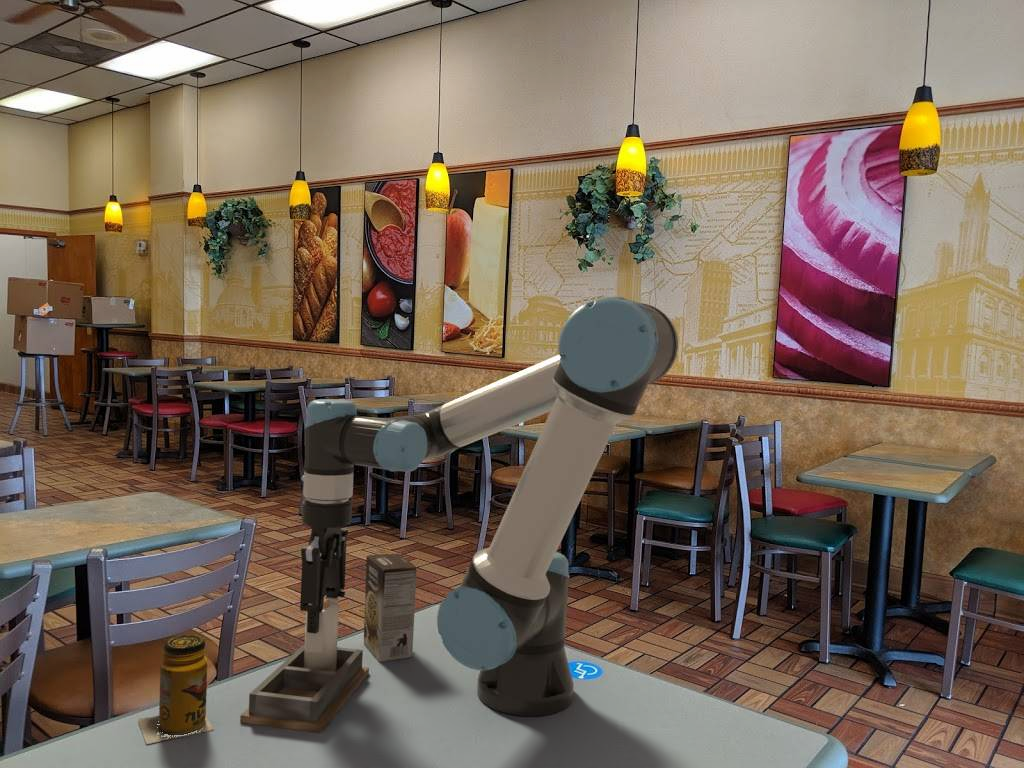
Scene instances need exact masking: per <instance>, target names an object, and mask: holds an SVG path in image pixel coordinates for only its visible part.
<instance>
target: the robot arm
mask: <svg viewBox="0 0 1024 768" xmlns="http://www.w3.org/2000/svg"><path fill="white" fill-rule="evenodd" d="M557 345H558V347H557V351H558V354H557V355H554V356H552V357H550V358H547V359H545V360H543V361H540V362H538V363H536V364H533V365H530V366H529V367H527V368H525V369H522V370H519V371H518V372H515V373H513V374H510V375H508V376H506V377H503V378H501V379H499V380H497V381H495V382H492V383H489V384H488V385H485V386H483V387H480V388H478V389H476V390H474V391H471V392H469V393H467V394H465V395H462V396H460V397H458V398H455V399H453V400H451V401H448V402H447V403H444V404H442V405H440V406H437V407H435V408H432V409H430V410H428V411H425V412H422V413H419V414H418V413H417V414H413V415H404V416H396V417H395V416H394V417H372V416H371V417H370V416H362V415H359V414H358V413H357V412H358V411H357V405H356V403H355V402H354V401H351V400H348V399H347V400H346V399H337V398H335V399H333V398H326V399H325V398H321V399H314V400H312V401H310V402H309V403H308V405H307V409H306V417H305V418H306V419H305V425H304V465H303V466H304V468H303V473H304V474H303V475H302V476H301V481H302V482H303V491H302V492H303V497H304V500H303V501H302V509H301V511H302V512H301V522H302V524H304V525H305V526H308V527H309V528H310V529H311V532H310V537H309V542H308V546H302V548H301V550H300V556H301V577H300V579H301V582H300V584H301V585H300V604H299V609H300V611H301V612H306V611H307V615H306V614H305V628H306V639H305V638H304V644H305V651H307V652H315V653H322V652H323V651H324V630H325V610H323V603H324V599H327V600H329V601H332V602H335V603H337V604H339V602H340V601H339V599H340V598H344V597H345V594H346V591H344V589H345V587H346V585H345V584H346V583H345V582H346V565H347V564H346V563H347V559H346V558H347V544H348V543H347V541H348V537H349V536H348V535H349V529H346V528H342V527H346V526H348V525H349V524H350V523H351V522H352V512H353V511H352V510H353V508H352V507H353V502H352V500H351V499H350V498H352V497H353V496H354V494H353V492H354V465H355V466H361V467H367V468H374V469H380V470H386V471H389V472H394V473H395V472H408V473H409V472H413V471H416V470H417V469H418V468H419V466H420V465H421V464H422V463H423V462H424V461H426V460H432V459H435V460H436V459H440V458H443V457H447V456H448V455H450V454H452V453H453V452H454V451H456V450H458V449H460V448H462V447H465V446H467V445H469V444H472V443H474V442H477V441H479V440H482V439H485V438H487V437H490V436H492V435H495V434H497V433H499V432H502V431H505V430H506V429H507V430H508V429H509V428H513V427H514V426H517V425H520V424H522V423H524V422H527V421H530V420H533V419H534V418H537V417H540V416H542V415H545V414H547V413H549V414H548V417H547V419H546V421H545V423H544V425H543V428H542V430H541V432H540V434H539V436H538V438H537V441H536V443H535V445H534V448H533V450H532V452H531V454H530V456H529V458H528V460H527V463H526V465H525V467H524V469H523V472H522V474H521V476H520V479H519V481H518V483H517V485H516V488H515V489H514V492H513V494H512V495H511V498H510V501H509V504H508V505H507V507H506V509H505V512H504V514H503V517H502V519H501V521H500V523H499V525H498V527H497V529H496V532H495V534H494V537H493V538H492V541H491V543H490V545H489V547H485V548H482V549H480V550H477V551H476V552H475V554H474V555H473V556H472V559H471V561H470V563H469V566H468V568H467V570H466V572H465V575H464V577H463V579H462V581H461V583H460V584H459V586H458V587H456V588H453V589H451V590H450V592H448V593H447V595H446V596H445V597H444V598H443V599H442V601H441V603H440V605H439V607H438V609H437V610H438V611H437V615H436V624H437V625H436V627H437V631H438V634H439V635H440V638H441V640H442V644H443V646H444V649H446V651H447V652H448V653H449V655H450V656H452V658H453V659H454V660H456V661H457V662H458V663H459V664H460V665H463V666H464V667H466V668H469V669H471V670H475V671H479V673H478V676H477V677H478V678H477V689H476V690H477V691H476V693H477V694H476V695H477V696H478V699H479V700H480V701H481V702H482V703H483V704H485V705H486V706H488V707H490V708H491V709H493V710H495V711H499V712H502V713H505V714H509V715H515V716H522V717H523V716H524V717H525V716H526V717H539V716H546V715H551V714H556V713H558V712H561V711H562V710H566V708H568V707H569V706H570V705H571V704H572V702H573V699H574V681H573V676H572V673H571V667H570V665H569V661H568V658H567V654H566V651H565V650H566V649H565V645H566V644H565V640H566V628H567V627H566V625H567V609H568V607H567V606H568V591H569V580H570V577H571V576H570V574H569V560H568V559H567V557H566V556H565V555H564V554H562V553H560V552H558V549H559V546H560V545H561V542H562V540H563V538H564V536H565V534H566V532H567V530H568V528H569V525H570V523H571V521H572V519H573V517H574V515H575V513H576V510H577V508H578V506H579V504H580V502H581V500H582V497H583V496H584V493H585V491H586V489H587V487H588V486H589V483H590V480H591V478H592V476H593V474H594V472H595V470H596V468H597V465H598V464H599V461H600V459H602V458H601V457H602V455H603V453H604V451H605V448H606V447H607V445H608V443H609V440H610V439H611V436H612V434H613V431H614V429H615V427H616V426H617V424H618V423H619V422H623V421H625V420H628V419H630V418H632V417H634V415H635V413H636V412H637V409H638V406H639V405H640V403H641V400H642V398H643V397H644V394H645V392H646V390H647V388H648V386H649V385H650V384H654V383H655V382H658V381H660V380H661V379H662V378H663V377H664V376H666V375H667V374H668V373H669V371H671V368H672V367H673V365H674V363H675V361H676V359H677V356H678V350H679V337H678V334H677V331H676V328H675V326H674V324H673V321H672V320H671V319H670V318H669V317H668V316H667V315H666V314H665V312H663V311H662V310H661V309H659V308H657V307H655V306H653V305H650V304H647V303H642V302H636V301H634V300H631V299H627V298H625V297H621V296H619V297H618V296H610V297H608V296H607V297H603V298H602V297H601V298H597V299H594V300H590V301H588V302H586V303H584V304H583V305H581V306H579V307H578V308H577V309H575V310H574V311H573V312H572V313H571V314H570V315H569V317H568V318H567V319H566V321H565V323H564V325H563V327H562V328H561V331H560V335H559V338H558V344H557ZM342 590H343V591H342Z"/></svg>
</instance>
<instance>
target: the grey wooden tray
mask: <svg viewBox="0 0 1024 768" xmlns="http://www.w3.org/2000/svg"><path fill="white" fill-rule="evenodd" d="M304 651H305V643H303V644H302V645H301V646H300V647H299V648H298V649H297V650H296V651H294V652H293V654H291V655H290V656H289V657H288V658H287V659H286V660H284V662H283V663H281V664H280V665H279V666H278V667H277V668H276V669H275V670H274V671H272V672H271V673H270V674H269V675H268V676H267V677H266V678H265V679H264V680H263V681H262V682H261V683H260V684H259V685H258V686H256V687H255V688H253V690H251V692H250V693H249V695H248V696H249V697H248V698H249V699H248V707H247V708H246V709H245V710H244V711H243V712H242V713H241V714H240V715H239V716H240V717H239V718H240V719H239V722H240V723H244V724H250V725H251V724H252V725H259V726H265V727H276V728H281V727H282V729H289V728H290V729H291V730H299V731H305V732H314V733H321V734H322V732H323V731H324V730H325V729H326V728H327V726H328V725H329V724H330V722H331V721H332V720H333V718H334V717H335V716H336V715H337V713H338V712H339V711H340V710H341V708H343V706H344V705H345V704H346V702H347V701H348V700H349V699H350V698H351V696H353V693H355V691H356V690H357V689H358V688H359V686H360V685H361V684H362V683H363V681H364V680H365V678H367V676H368V675H369V672H370V671H369V670H370V667H368V666H363V655H364V654H363V651H364V649H358V648H357V649H356V648H348V647H338V646H337V662H336V670H335V671H325V670H316V669H307V668H304Z"/></svg>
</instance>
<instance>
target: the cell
mask: <svg viewBox="0 0 1024 768" xmlns="http://www.w3.org/2000/svg"><path fill="white" fill-rule="evenodd" d="M323 610H325V630H324V651H323V652H322V653H315V652H307V651H304V668H307V669H316V670H325V671H335V670H336V662H337V647H338V640H339V639H338V636H339V635H338V634H339V618H340V617H339V615H340V613H339V612H340V605H339V604H337V603H335V602H332V601H329V600H327V599H324V603H323ZM306 615H307V611H305V616H306ZM304 632H305V633H304V640H305V639H306V627H305V631H304Z"/></svg>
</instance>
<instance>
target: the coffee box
mask: <svg viewBox="0 0 1024 768" xmlns="http://www.w3.org/2000/svg"><path fill="white" fill-rule="evenodd" d="M365 562H366V563H365V564H366V565H365V568H366V569H365V593H364V594H365V596H364V597H365V599H364V621H363V623H364V625H363V626H364V627H363V644H364V645H365V646H366V648H367V649H368V650H369V651H370V653H371V654H372V655H373V656H374V657H375V658H376V660H377V661H378V663H379V662H382V663H383V662H386V661H387V662H388V661H394V660H401V659H402V660H403V659H407V658H412V657H413V649H414V648H413V646H414V645H413V644H414V629H415V627H414V626H415V625H414V624H415V613H416V612H415V611H416V609H415V608H416V607H415V606H416V590H417V589H416V587H417V570H418V569H417V568H418V567H417V566H416V565H415V564H413V562H411V561H409V560H408V558H406V557H404V556H403V555H402V554H401V553H399V552H398V553H390V554H389V553H380V554H370V555H366V561H365Z"/></svg>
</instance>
